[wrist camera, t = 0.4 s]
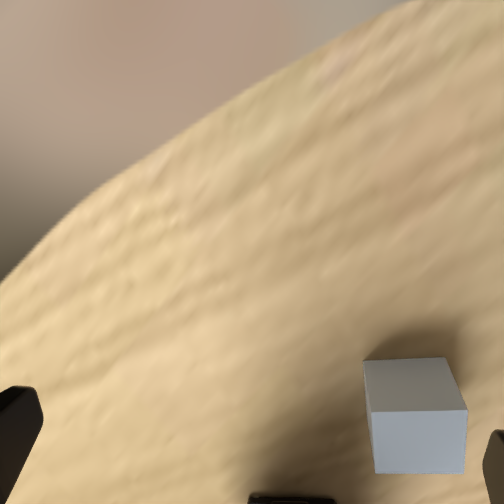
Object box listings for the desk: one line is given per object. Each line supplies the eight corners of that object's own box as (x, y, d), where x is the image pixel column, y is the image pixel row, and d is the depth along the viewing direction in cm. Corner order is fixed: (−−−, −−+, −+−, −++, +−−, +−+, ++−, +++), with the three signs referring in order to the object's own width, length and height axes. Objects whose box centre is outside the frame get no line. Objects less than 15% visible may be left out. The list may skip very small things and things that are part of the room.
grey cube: (442, 414, 26) (463, 473, 22) (366, 416, 26) (375, 473, 23) (444, 355, 24) (468, 410, 20) (362, 359, 25) (371, 412, 21)
